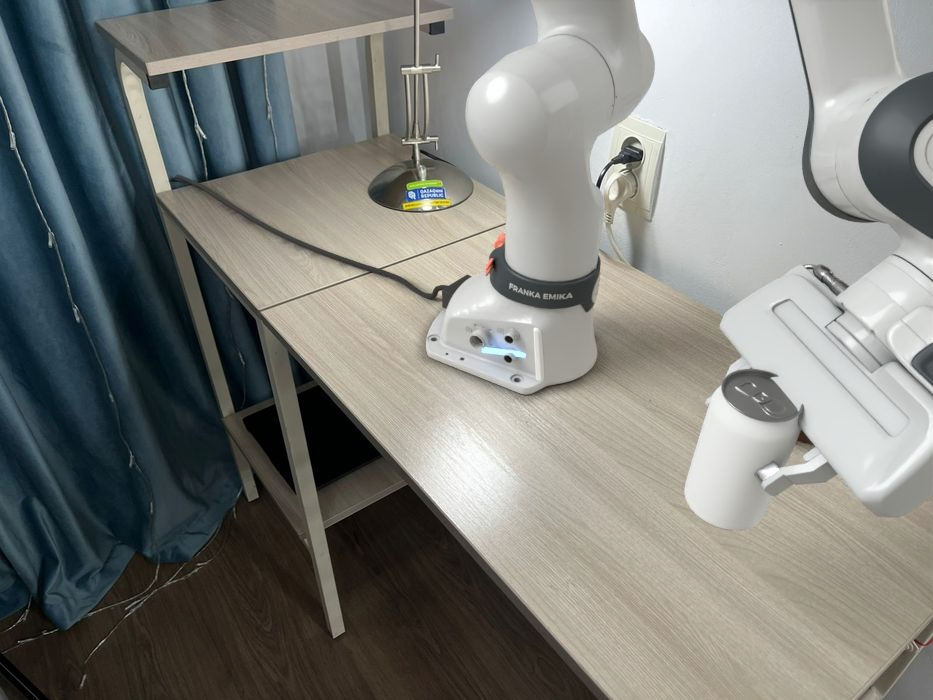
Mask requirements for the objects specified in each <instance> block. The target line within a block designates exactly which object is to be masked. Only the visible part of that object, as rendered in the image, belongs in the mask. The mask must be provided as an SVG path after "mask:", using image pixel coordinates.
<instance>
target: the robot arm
mask: <svg viewBox="0 0 933 700" xmlns="http://www.w3.org/2000/svg"><path fill="white" fill-rule="evenodd" d="M787 2H788V6H789V10H790V15H791V19H792V24H793V29H794V33H795V38H796V42H797V46H798V47H797V48H798V51H799V56H800V60H801V65H802V69H803V73H804V77H805V83H806V87H807V95H808V108H809V109H808V118H807V126H806V130H805V135H804V141H803V147H802V154H801V155H802V156H801V170H802V177H803V181H804V184H805V187H806V189H807V190H808V192H809V194H810V196H811V197H812V199H813V200H814V201H815V202H816V204H818V206H819V207H821V208H822V209H823V210H824V211H826V212H827V213H829V214H830V215H832V216H834V217H836V218H839V219H841V220H844V221H848V222H852V223H860V224H862V223H863V224H870V223H871V224H873V223H882V224H887V225H888V226H889V227H890V228H891V229H892V230H893V231H894V232H895V233H896V234H897V235H898V237H899V239H900V244H899V247H898V249H896V250H895V251H894V252H892V253H891V254H890V255H889V256H887V257H886V258H885V259H884V260H882V261H881V262H880V263H878V264H877V265H875V266H874V267H873V268H872V269H871V270H869V271H867V272H866V273H865V274H864V275H863V276H861V277H860V278H859V279H857V280H856V281H854V282H853V283H852V284H850V285H849V284H848V283H846V282H845V281H844V280H842V279H840V278H839V277H837V276H836V275H835V272H834V271H833V270H831V269H830V267H828V266H826V265H824V264H821V263H819V264H817V265H816V264H813V263H812V264H810V263H805V264H798V265H795V266H794V267H792V268H791V269H790V270H788V271H787V272H786V273H785V274H783V275H782V276H779V277H777V278H775V279H774V280H772V281H770V282H768V283H766V284H765V285H763V286H762V287H760V288H759V289H757V290H755V291H754V292H752V293H751V294H749V295H747V296H746V297H744V298H743V299H742V300H740V301H739V302H737V303H736V304H735V305H733V306H731V307H730V308H729V309H728V310H726V312H724V314H723V316H722V319H721V321H720V323H719V329H720V331H721V332H722V333H723V335H724V336H725V337H726V338H727V340H728V342H730V343H731V344H732V346H733V347H734V348H735V350H736V351H737V352H738V353H739V354H740V355H741V357H739V358H738V359H737V360H736V361H734V362H733V363H731V364H730V366H729V367H728V370H727V371H726V374H725V376H724V378H725V377H726V376H727V375H728V374H730V373H732V372H734V371H737V370H741V369H759V370H765V371H768V372H772V373H774V374H777V375H779V376H778V377H771V379H773V380H774V381H775V382H776V383H777V385H778V386H779V387H780V388H781V389H782V391H783V392H784V393H785V394H786V395H787V397H788V398H789V399H790V400H791V401H792V403H793V404H794V405H795V406H796V408H797V410H798V412H799V410H800V407H801V405H802V404H803V405H804V407H803V410H802V412H801V413H800V414H799V418H798V426H799V427H800V428H801V429H802V431H803V432H804V433H805V434H806V436H807V437H808V438H809V439H810V440H811V442H812V443H813V444H814V447H812V449H810V450H808V451H807V452H806V453H805V454H803V455H802V459H803V460H804V463H798V464H793V465H786V467H781V466H779V465H778V464H777V463H776V462H774V461H772V462H770V463H768V464H767V465H765V466H764V468H763V469H758V470H757V471H756V472H755V474H754V476H755V477H756V479H757V480H758V482H759V483H760V485H761V486H762V488H763V489H764V491H765V492H767V493H768V494H769V495H771V496H773V497H775V496H778V495H780V494H781V493H783V492H785V491H786V490H787V489H789V488H790V487H792V486H794V485H795V486H799V485H811V484H812V485H813V484H822V483H827V482H828V481H830V480H831V479H833V478H834V477H836V476H837V475H838V476H839V477H840V479H841V480H842V481H843V483H844V484H845V486H846V487H847V488H848V489H849V490H850V491H851V492H852V493H853V495H854V496H855V498H856V499H857V500H858V501H859V502H860V504H862V505H863V506H864V507H865V508H866V509H867V510H868V511H869V512H871V514H873V515H875V516H876V517H879V518H901V517H904V516H905V515H907V514H909V513H911V512H913V511H914V510H916V509H917V508H918V507H920V506H922V505H923V504H924V503H926V502H927V501H929V500H931V498H933V71H928V72H926V73H925V72H924V73H922V74H917V75H915V76H911V77H909V75H908V74H907V72H906V70H905V68H904V65H903V62H902V59H901V53H900V47H899V43H898V42H899V41H898V37H897V31H896V26H895V21H894V15H893V10H892V3H891V0H787ZM530 4H531V7H532V10H533V13H534V17H535V23H536V28H537V39H536V42H533V43H532V44H529V45H527V46H524V47H521V48H519V49H517V50H515V51H511V52H510V53H508V54H505V56H503V57H502V58H501V59H500V60H498V61H497V62H496V63H495V64H493V65H492V66H490V68H489V69H487V70H486V72H484V73H483V74H482V75H481V76H480V77H479V78H478V79H476V81H475V82H474V84H473V85H472V86H471V88H470V90H469V92H468V95H467V97H466V101H465V102H466V103H465V111H464V115H465V118H464V119H465V125H466V129H467V133H468V137H469V139H470V141H471V143H472V145H473V147H474V149H475V150H476V152H477V153H478V154H479V155H480V157H481V158H482V159H483V160H484V161H485V162H486V163H487V164H489V165H490V166H492V167H493V168H494V169H496V170H497V172H498V174H499V177H500V181H501V183H502V188H503V192H504V199H505V232H504V233H500V235H498V237H497V239H496V241H494V244H493V247H494V249H493V250H492V251H491V252H490V254H489V256H488V262H487V263H486V264H485V265H486V266H485V271H482V272H480V273H477V274H474V275H472V276H471V275H470V274H465V275H463V276H462V277H461V278H458V279H457V280H456V281H454V282H452V283H451V284H449V285H447V284H440V285H437V286H435V287H434V288H433V289H432V292H431V293H430V292H429V293H427V292H424V291H422V290H420V288H418V287H416V286H415V285H414V284H413V283H411V282H410V281H408V280H407V279H405V278H404V277H402V276H400V275H397V274H395V273H393V272H390V271H388V270H384V269H382V268H378V267H375V266H372V265H368V264H365V263H363V262H359V261H357V260H353V259H351V258H347V257H345V256H341V255H339V254H336V253H334V252H331V251H328V250H325V249H322V248H320V247H317V246H315V245H313V244H310V243H308V242H305V241H302V240H300V239H298V238H296V237H293V236H291V235H289V234H286V233H285V232H283V231H281V230H279V229H277V228H275V227H273V226H271V225H269V224H267V223H266V222H263V221H261V220H260V219H258V218H256V217H254V216H253V215H251V214H249V213H248V212H247V211H244V210H243V209H241V208H240V207H238V206H236V205H235V204H233V203H232V202H230V201H228V200H227V199H225V198H224V197H223V196H221V195H219V194H217V192H214V191H213V190H211V189H210V188H208V186H206V185H204V184H202V183H199V182H198V181H195V180H193V179H191V178H188V177H186V176H184V175H180V174H175V175H176V176H175V178H172V177H171V176H170V177H169V178H168V179H169V181H168V182H173V181H174V180H180V181H183V182H185V183H188V184H190V185H191V186H194V187H197V188H199V189H201V190H203V191H204V192H205V193H207V194H209V195H210V196H211V197H213V198H214V199H216V200H217V201H218V202H221V203H222V204H224V205H225V206H227V207H228V208H230V209H231V210H233V211H235V212H236V213H238V214H239V215H241V216H242V217H244V218H246V219H248V220H249V221H250V222H252V223H254V224H256V225H257V226H260V227H261V228H263V229H265V230H267V231H269V232H270V233H273V234H275V235H277V236H278V237H280V238H282V239H284V240H286V241H289V242H290V243H293V244H295V245H297V246H300V247H303V248H304V249H306V250H309V251H312V252H314V253H317V254H320V255H322V256H324V257H327V258H330V259H333V260H336V261H338V262H341V263H344V264H347V265H350V266H352V267H355V268H358V269H362V270H364V271H368V272H371V273H374V274H377V275H380V276H383V277H386V278H389V279H391V280H394V281H396V282H398V283H400V284H402V285H403V286H405V287H406V288H408V289H409V290H410V291H411V292H413V293H415V294H416V295H418V296H420V297H422V298H423V299H427V300H433V299H436V298H437V296H438V294H439V292H441V307H442V308H443V309H442V310H441V311H440V312H439V313H438V314H437V316H436V317H435V319H434V320H433V321H432V324H430V325H431V326H430V327H429V329H428V332H427V335H426V340H425V350H426V355H427V356H428V357H429V359H432V360H435V361H437V362H439V363H442V364H444V365H447V366H449V367H452V368H455V369H457V370H460V371H461V372H464V373H467V374H470V375H472V376H475V377H477V378H480V379H482V380H485V381H487V382H489V383H493V384H494V385H497V386H500V387H503V388H504V389H507V390H510V391H513V392H515V393H518V394H521V395H532V394H534V393H536V392H538V391H540V390H543V389H544V388H546V387H549V386H554V385H560V384H565V383H568V382H569V383H570V382H571V381H574V380H577V379H579V378H582V377H583V376H584V375H586V374H587V373H588V372H589V371H590V370H591V369H592V368H593V367H594V365H595V364H596V361H597V359H598V352H599V351H598V346H597V343H596V342H597V341H596V338H595V327H594V306H595V304H596V302H597V299H598V294H599V289H600V288H599V287H600V281H601V275H602V273H601V264H602V263H601V261H602V259H601V257H600V255H599V253H600V246H601V240H602V232H603V225H604V217H605V210H606V201H605V197H604V194H603V192H602V191H601V189H600V188H599V187H598V186H597V185H596V184H595V183H594V182H593V178H592V172H591V154H592V151H593V147H594V145H595V143H596V141H597V139H598V137H600V136H601V135H603V134H604V133H606V132H608V131H609V130H611V129H612V128H614V127H616V126H617V125H619V124H620V123H622V122H623V121H624V120H626V119H627V118H628V117H630V116H631V114H632V113H633V112H634V111H635V109H636V108H637V107H638V106H639V105H640V103H641V102H642V101H643V99H644V98H645V97H646V95H647V94H648V92H649V90H650V88H651V86H652V84H653V82H654V77H655V73H656V72H655V70H656V62H655V55H654V51H653V48H652V46H651V44H650V42H649V40H648V38H647V37H646V36H645V34H644V33H643V32H642V31H641V27H640V24H639V19H638V13H637V8H636V7H637V6H636V1H635V0H530ZM810 270H811V271H810ZM721 385H722V383H721V384H720V386H721ZM712 396H713V394H711V395H710V396H709V397H707V398H706V399H705V401H704V405H705V406H706V408H707V409H708V407H709V403H710V401H711V398H712ZM813 444H812V445H813Z"/></svg>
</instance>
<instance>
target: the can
mask: <svg viewBox="0 0 933 700" xmlns="http://www.w3.org/2000/svg"><path fill="white" fill-rule="evenodd" d="M725 376H726V375H725ZM725 376H724V378H723V380H722V381H721V384H722V385H721V384H720V385H719V386H718V387H717V388H715V390H714V392H713V393H712V395H713V396H712V398H711V401H710V403H709V407H708V408H707V410H706V413H705V417H704V420H703V423H702V426H701V429H700V432H699V437H698V439H697V442H696V443H697V444H696V446H695V448H694V453H693V456H692V459H691V462H690V466H689V469H688V473H687V476H686V479H685V484H684V491H683V492H684V493H683V494H684V498H685V501H686V503H687V505H688V506H689V508H690V509H691V511H692V512H693V513H694V514H695V515H696V516H697V517H698V518H699V519H701V520H702V521H703V522H705V523H706V524H708V525H711V526H712V527H715V528H716V529H717V528H718V529H721V530H726V531H745V530H750V529H752V528H754V527H756V526H758V524H759V523H760V522H761V521H762V520H763V518H764V516H765V514H766V513H767V510H768V508H769V506H770V504H771V501H772V500H773V497H774V496H771V495H769V494H768V493H767V492H765V491H764V489H763V488H762V486H761V485H760V483H759V482H758V480H757V479H756V477H755V476H754V474H755V472H756V471H757V470H758V469H763V468H764V466H765V465H767V464H768V463H770V462H772V461H774V462H776V463H777V464H778V465H779V466H781V467H786V466H788V465H787V464H788V462H789V460H790V458H791V455H792V453H793V451H794V448H795V446H796V443H797V442H798V441H797V439H798V436H799V434H800V431H801V428H800V427H799V426H798V418H799V414H800V413H801V412H802V410H803V407H804V405H803V404H802V405H801V407H800V410H799V412H798V410H797V408H796V406H795V405H794V404H793V403H792V401H791V400H790V399H789V398H788V397H787V395H786V394H785V393H784V392H783V391H782V389H781V388H780V387H779V386H778V385H777V383H776V382H775V381H774V380H773V379H771V377H778V376H779V375H777V374H774V373H772V372H768V371H765V370H759V369H741V370H737V371H734V372H732V373H730V374H728V375H727V376H726V377H725Z"/></svg>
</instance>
